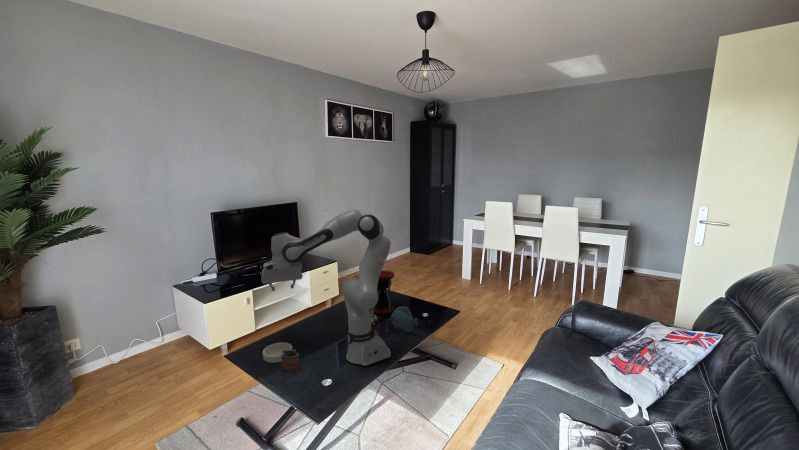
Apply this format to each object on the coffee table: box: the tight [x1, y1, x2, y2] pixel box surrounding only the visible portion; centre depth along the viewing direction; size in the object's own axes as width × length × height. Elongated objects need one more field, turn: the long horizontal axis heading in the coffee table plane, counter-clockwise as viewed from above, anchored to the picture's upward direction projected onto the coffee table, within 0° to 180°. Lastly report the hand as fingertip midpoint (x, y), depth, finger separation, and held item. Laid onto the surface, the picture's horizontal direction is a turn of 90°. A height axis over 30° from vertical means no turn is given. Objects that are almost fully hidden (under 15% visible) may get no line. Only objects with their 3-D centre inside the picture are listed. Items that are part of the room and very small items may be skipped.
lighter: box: [281, 348, 301, 373], centre depth 157 cm, size 8×3×10 cm, turn 94°
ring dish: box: [262, 342, 293, 364], centre depth 170 cm, size 14×14×3 cm
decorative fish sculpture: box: [389, 306, 418, 333], centre depth 195 cm, size 12×20×15 cm, turn 56°
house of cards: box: [370, 309, 378, 324], centre depth 209 cm, size 9×9×8 cm
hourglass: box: [370, 269, 396, 315], centre depth 224 cm, size 16×16×25 cm
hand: (282, 289), depth 176 cm, fingers open, 8 cm apart
